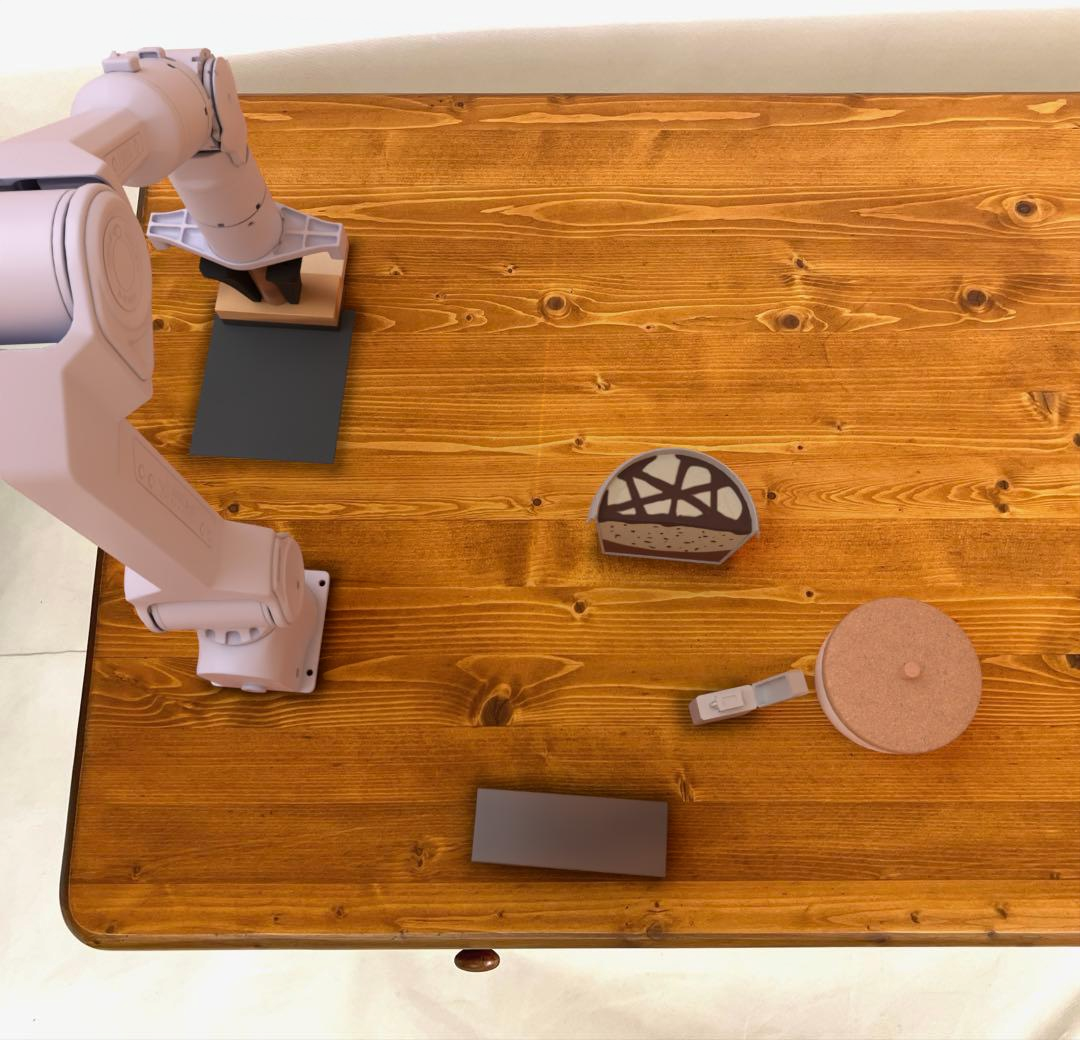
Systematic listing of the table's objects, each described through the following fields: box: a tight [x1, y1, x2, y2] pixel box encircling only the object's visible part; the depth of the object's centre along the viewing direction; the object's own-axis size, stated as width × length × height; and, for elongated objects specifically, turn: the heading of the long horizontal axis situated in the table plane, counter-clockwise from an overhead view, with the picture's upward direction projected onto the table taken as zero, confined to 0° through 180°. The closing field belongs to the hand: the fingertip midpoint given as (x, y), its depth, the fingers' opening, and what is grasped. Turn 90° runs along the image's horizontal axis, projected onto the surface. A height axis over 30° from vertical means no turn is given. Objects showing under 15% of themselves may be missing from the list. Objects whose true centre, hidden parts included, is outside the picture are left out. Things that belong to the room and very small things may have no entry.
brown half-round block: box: [586, 446, 761, 566], centre depth 73 cm, size 12×6×10 cm, turn 84°
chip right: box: [300, 239, 350, 283], centre depth 85 cm, size 4×4×1 cm
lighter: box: [688, 669, 809, 726], centre depth 70 cm, size 7×2×8 cm, turn 102°
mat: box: [188, 309, 356, 465], centre depth 82 cm, size 14×12×1 cm
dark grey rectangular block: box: [470, 787, 669, 878], centre depth 69 cm, size 5×13×6 cm, turn 86°
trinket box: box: [813, 596, 983, 755], centre depth 70 cm, size 11×11×9 cm
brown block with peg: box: [214, 266, 347, 331], centre depth 80 cm, size 4×10×8 cm, turn 86°
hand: (277, 292), depth 81 cm, fingers closed on brown block with peg, 2 cm apart
